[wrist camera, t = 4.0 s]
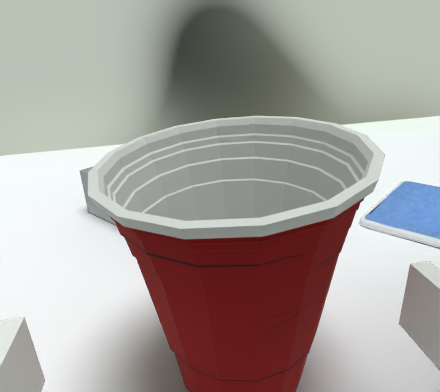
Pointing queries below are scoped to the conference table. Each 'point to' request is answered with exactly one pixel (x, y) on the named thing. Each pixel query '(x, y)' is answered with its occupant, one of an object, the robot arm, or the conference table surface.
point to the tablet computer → (407, 213)
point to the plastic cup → (238, 237)
